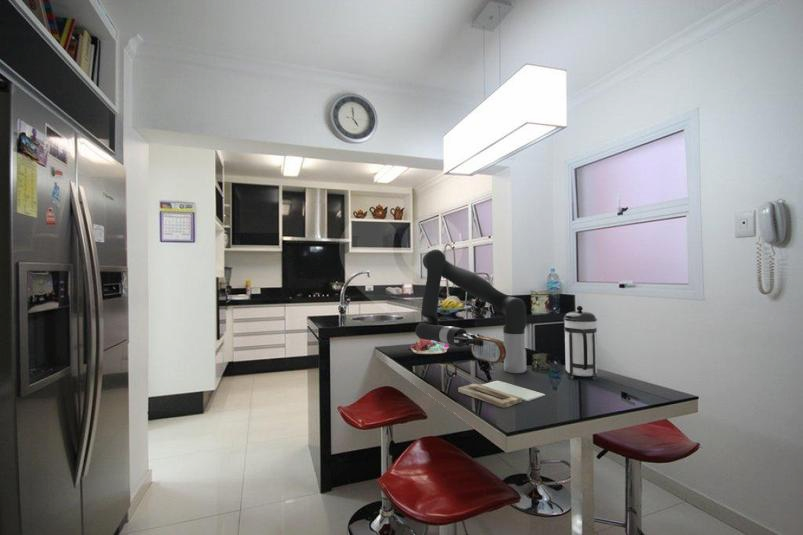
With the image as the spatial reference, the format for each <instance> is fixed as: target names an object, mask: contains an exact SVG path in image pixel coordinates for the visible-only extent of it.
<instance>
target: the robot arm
mask: <svg viewBox="0 0 803 535" xmlns="http://www.w3.org/2000/svg"><path fill="white" fill-rule="evenodd" d="M422 264H423V266H424V268H425V270H426V275H427V276H426V282H425V287H424V292H423V296H422V302H421V303H422V304H421V310H420V311H421V312H420V313H421V316H422V317H423V318H426V320H427V322H420V323H419V324H417V325H416V327H415V331H414V332H415V335H416V336H417V337H418V339H419V338H420V339H425V340H434V341H437V342H441V343H445V344H447V345H448V346H451V347H456V348H463V347H464V346H467V347H469V346H471V345H477V346H483V340H480V339H474V338H476V337H479V336H483V337H485V335H483V334H480V333H476V334H473V333H469V332H467V330H466V329H464V328H462V327H457V326H450V325H449V326H447V325H440V324H439V316H438V308H439V296H440V287H441V281H442V278H443V279H444V278H445V279H446V280H448V281H449V282H450V283H451V284H453V285H455V286H456V287H458V288H460V289H461V290H463V292H466V293H467V294H469V295H471V296H473V297H475V298H476V299H478V300H481V301H483V302H486V303H487V304H489V305H491V306H492V307H493V308H495V309H496V310H498V311H499V312H501V313H502V314H503V315H505V325H504V326H503V327H502V328H503V329H502V330H503V333H502V334H503V336H502V337H503V344H504V346H505V349H506V357H505V359H504V361H503V371H504V372H507V373H511V374H523V373H525V372H526V371H527V349H526V342H525V340H526V338H525V332H526V331H525V330H526V327H527V307H526V306H527V305H526V303H525V301H524V300H522V299H521V298H518V297H513V296H511V295H508V294H506V293H504V292H501V291H499V290H498V289H496V288H495V287H494V286H493V285H492V284H491V283H490V282H489V281H487V280H486V279H485V278H483V277H482V276H480V275H478V274H477V273H475V272H473V271H470V270H468V269H466V268H463V267H460V266H457V265H454V264H453V263H451V262H450V261H448V260H446V255H445V254H444V252H443V251H442V250H440V249H438V248H437V249H432V250H429V251H428V252H427V253H425V255H424V256H423V258H422ZM420 339H419V340H420Z"/></svg>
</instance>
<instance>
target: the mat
mask: <svg viewBox="0 0 803 535" xmlns="http://www.w3.org/2000/svg"><path fill="white" fill-rule="evenodd" d="M481 385H483V386H486V387H489V388H493V389H496V390H499V391H502V392H505V393H508V394H511V395H515V396H518V397H521V398H522V400H523V401H525V402H530V401H534V400H536V399H539V398H542V397H545V396H546V394H545V393H542V392H538V391H535V390H532V389H528V388H524V387H522V386H518V385H514V384H511V383H508V382H504V381H501V380H493V381H491V382H487V383H482V384H481Z"/></svg>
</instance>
